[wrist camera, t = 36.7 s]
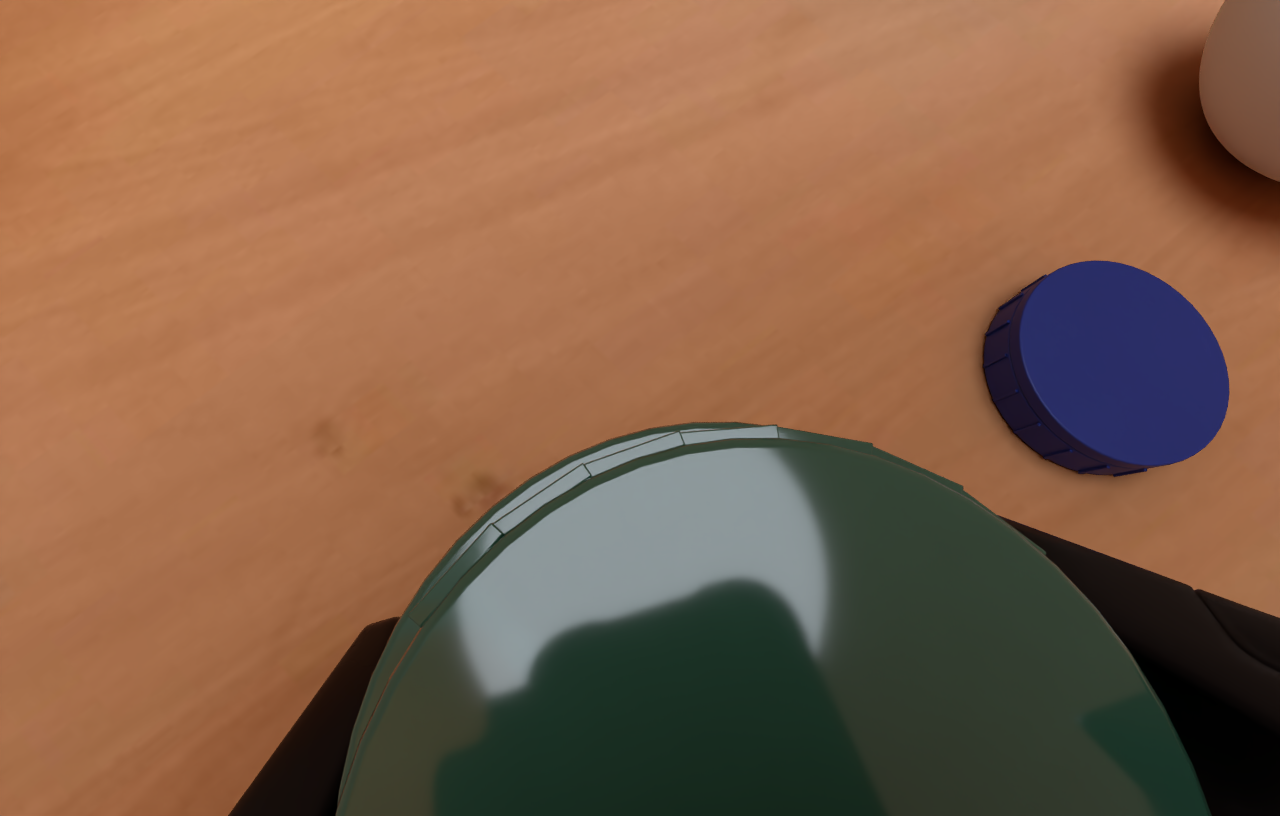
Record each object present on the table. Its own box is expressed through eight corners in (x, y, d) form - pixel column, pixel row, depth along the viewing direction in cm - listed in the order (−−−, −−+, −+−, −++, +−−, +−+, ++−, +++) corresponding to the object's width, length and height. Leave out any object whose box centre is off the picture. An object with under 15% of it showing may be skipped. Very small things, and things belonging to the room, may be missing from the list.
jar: (830, 633, 14) (1482, 791, 4) (667, 877, 12) (1018, 2444, 2) (631, 467, 15) (703, 210, 5) (455, 674, 13) (-77, 1022, 3)
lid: (1195, 483, 19) (1255, 475, 17) (991, 468, 19) (1032, 457, 17) (1156, 294, 21) (1207, 269, 19) (971, 275, 21) (1005, 249, 19)
